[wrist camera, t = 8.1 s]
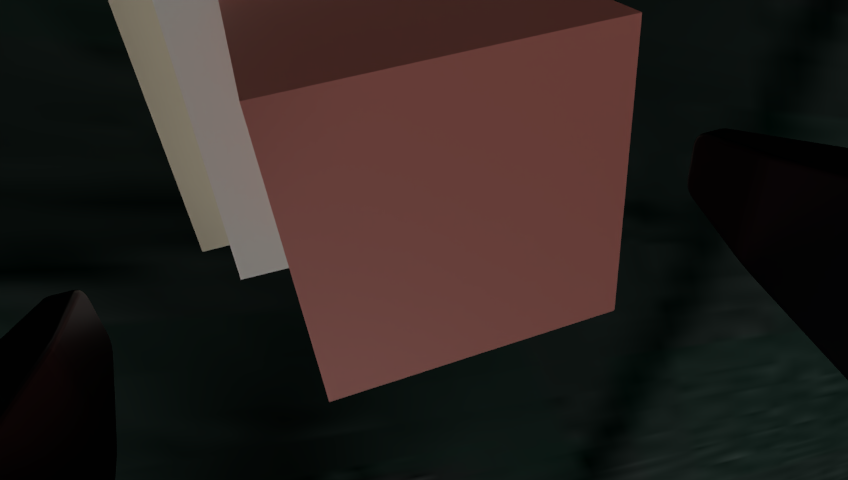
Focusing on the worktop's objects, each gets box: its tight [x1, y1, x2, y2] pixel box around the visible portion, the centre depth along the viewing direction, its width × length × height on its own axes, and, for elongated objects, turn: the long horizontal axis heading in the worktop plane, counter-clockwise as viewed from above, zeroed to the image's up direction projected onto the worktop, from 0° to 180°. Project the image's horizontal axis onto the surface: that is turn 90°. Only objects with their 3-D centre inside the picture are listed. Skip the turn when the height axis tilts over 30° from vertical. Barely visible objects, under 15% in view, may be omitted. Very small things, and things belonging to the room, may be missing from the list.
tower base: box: [108, 0, 230, 252], centre depth 16 cm, size 9×9×3 cm
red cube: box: [218, 0, 642, 402], centre depth 11 cm, size 5×5×5 cm
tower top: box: [152, 0, 289, 280], centre depth 14 cm, size 7×7×3 cm
